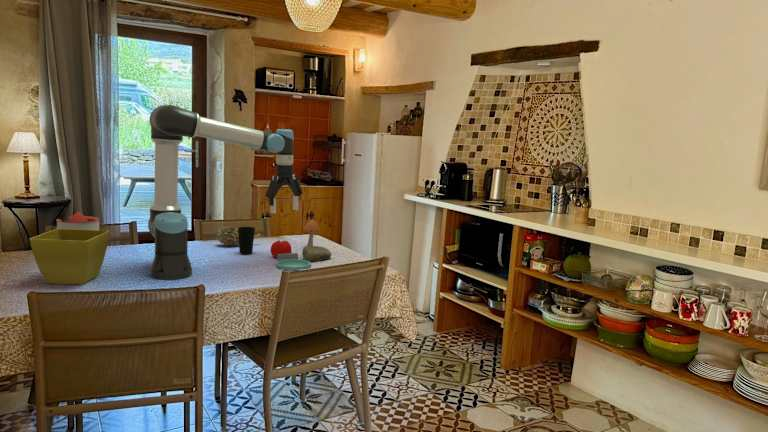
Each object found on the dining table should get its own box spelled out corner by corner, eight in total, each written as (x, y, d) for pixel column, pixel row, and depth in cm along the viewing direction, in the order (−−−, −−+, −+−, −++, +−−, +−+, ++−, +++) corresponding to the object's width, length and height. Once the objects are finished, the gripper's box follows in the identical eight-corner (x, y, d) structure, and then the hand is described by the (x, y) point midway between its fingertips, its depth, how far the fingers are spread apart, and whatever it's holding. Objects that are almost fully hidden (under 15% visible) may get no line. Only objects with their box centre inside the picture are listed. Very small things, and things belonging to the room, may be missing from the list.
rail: (278, 262, 232) (278, 254, 232) (277, 261, 233) (277, 254, 233) (297, 261, 237) (298, 253, 236) (296, 260, 238) (297, 252, 237)
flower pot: (87, 288, 182) (86, 240, 180) (29, 286, 181) (27, 238, 178) (111, 273, 201) (110, 230, 199) (59, 272, 199) (57, 228, 197)
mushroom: (322, 248, 265) (323, 219, 263) (312, 251, 258) (313, 221, 256) (310, 246, 269) (311, 217, 267) (299, 248, 262) (300, 218, 260)
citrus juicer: (74, 253, 229) (72, 207, 226) (109, 257, 226) (108, 210, 223) (44, 260, 214) (42, 212, 211) (81, 265, 211) (80, 215, 208)
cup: (249, 256, 241) (250, 230, 240) (234, 254, 243) (234, 228, 241) (257, 252, 249) (257, 227, 247) (242, 251, 250) (242, 226, 249)
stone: (294, 257, 239) (302, 237, 242) (316, 268, 248) (324, 249, 250) (304, 259, 233) (313, 238, 235) (327, 271, 241) (336, 251, 244)
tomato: (289, 255, 248) (289, 239, 247) (292, 259, 240) (292, 243, 238) (269, 255, 245) (269, 239, 244) (271, 259, 237) (271, 243, 235)
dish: (282, 271, 217) (282, 268, 217) (272, 263, 230) (272, 260, 230) (315, 269, 224) (315, 265, 224) (303, 261, 237) (303, 258, 237)
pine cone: (218, 248, 252) (218, 228, 251) (213, 244, 260) (213, 225, 259) (263, 246, 263) (263, 226, 262) (257, 242, 271) (258, 223, 270)
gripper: (268, 165, 223) (268, 215, 226) (310, 164, 242) (310, 209, 246) (257, 164, 227) (257, 213, 230) (299, 163, 247) (298, 207, 250)
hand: (284, 211), depth 238 cm, fingers open, 13 cm apart
